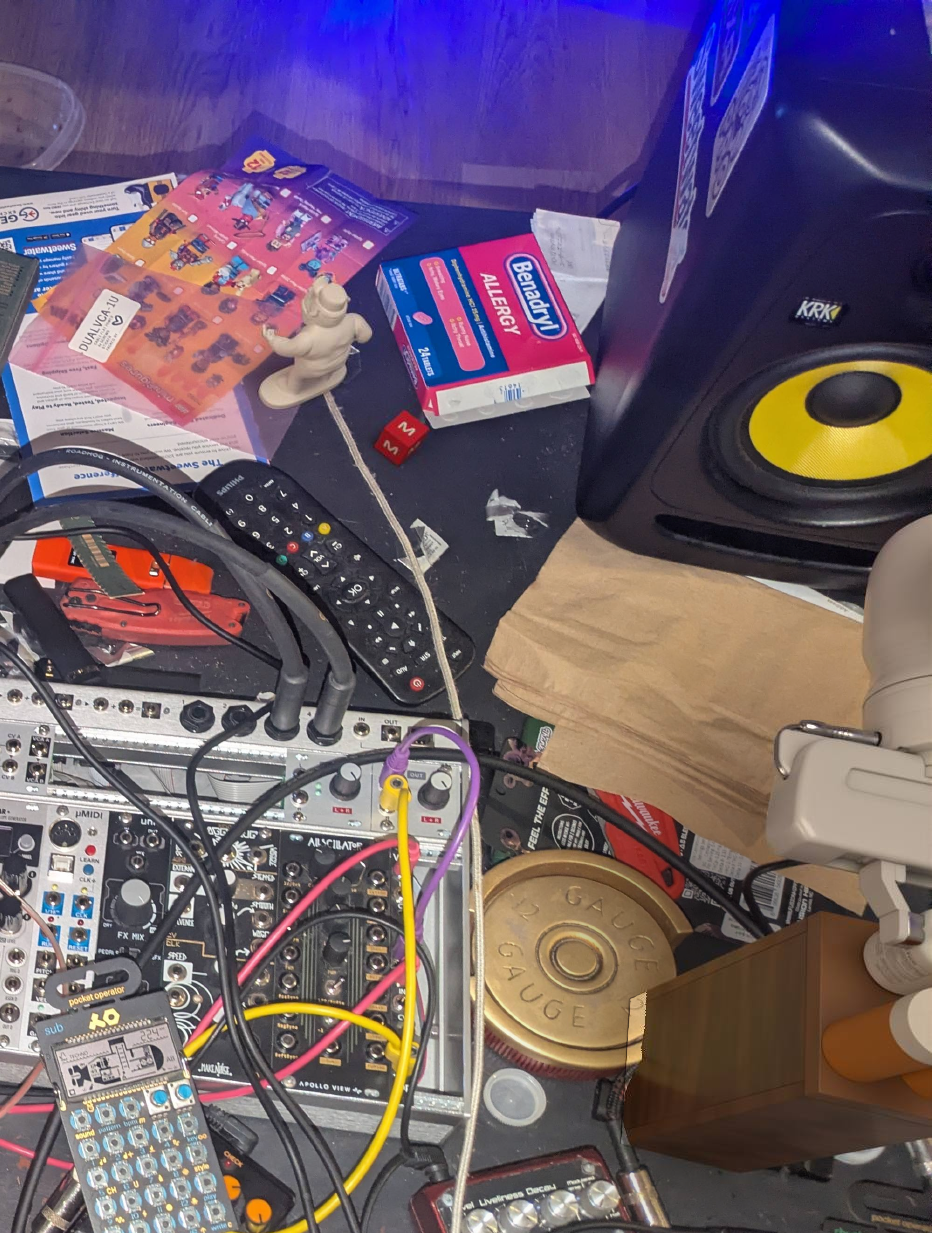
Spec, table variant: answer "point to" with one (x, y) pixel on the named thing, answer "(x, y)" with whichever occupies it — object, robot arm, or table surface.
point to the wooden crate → (742, 1068)
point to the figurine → (314, 347)
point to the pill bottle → (901, 962)
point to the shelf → (840, 993)
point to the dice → (401, 438)
